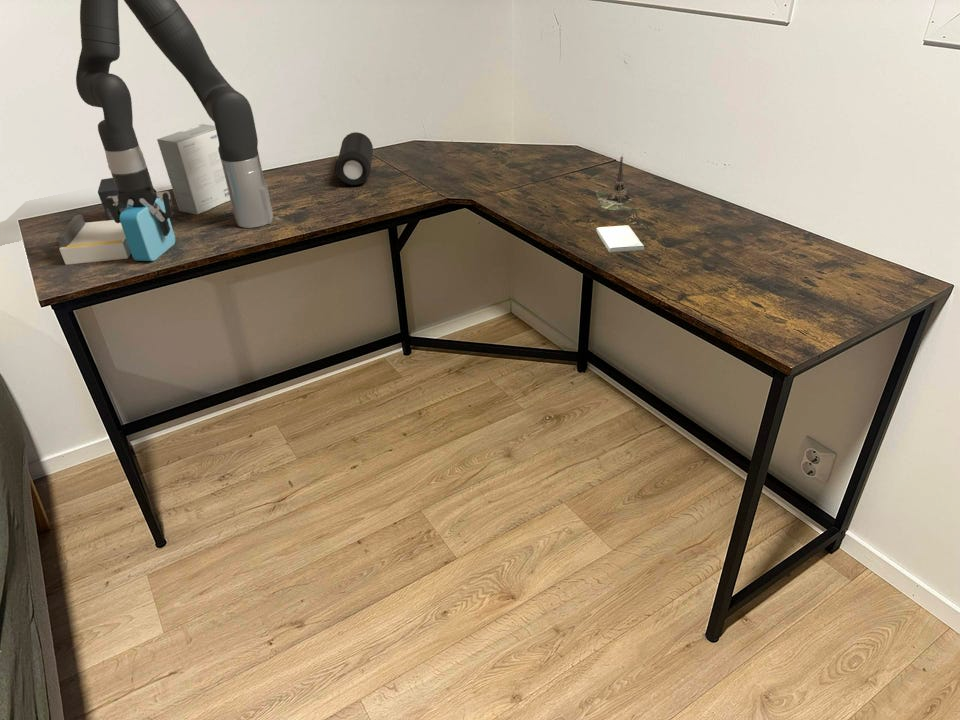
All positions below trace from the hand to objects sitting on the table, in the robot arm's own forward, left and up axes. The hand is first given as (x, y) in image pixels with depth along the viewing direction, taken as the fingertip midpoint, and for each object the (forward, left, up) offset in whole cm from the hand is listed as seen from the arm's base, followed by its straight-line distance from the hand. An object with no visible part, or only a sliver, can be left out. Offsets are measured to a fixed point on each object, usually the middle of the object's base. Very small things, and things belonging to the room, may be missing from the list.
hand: (150, 236), depth 160 cm
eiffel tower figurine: (-118, -4, -5) cm, 119 cm away
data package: (0, 0, -4) cm, 4 cm away
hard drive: (-110, +21, -5) cm, 112 cm away
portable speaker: (-50, -46, -5) cm, 68 cm away
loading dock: (+13, -6, -4) cm, 15 cm away
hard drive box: (-8, -31, -4) cm, 32 cm away
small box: (+13, -24, -4) cm, 28 cm away
